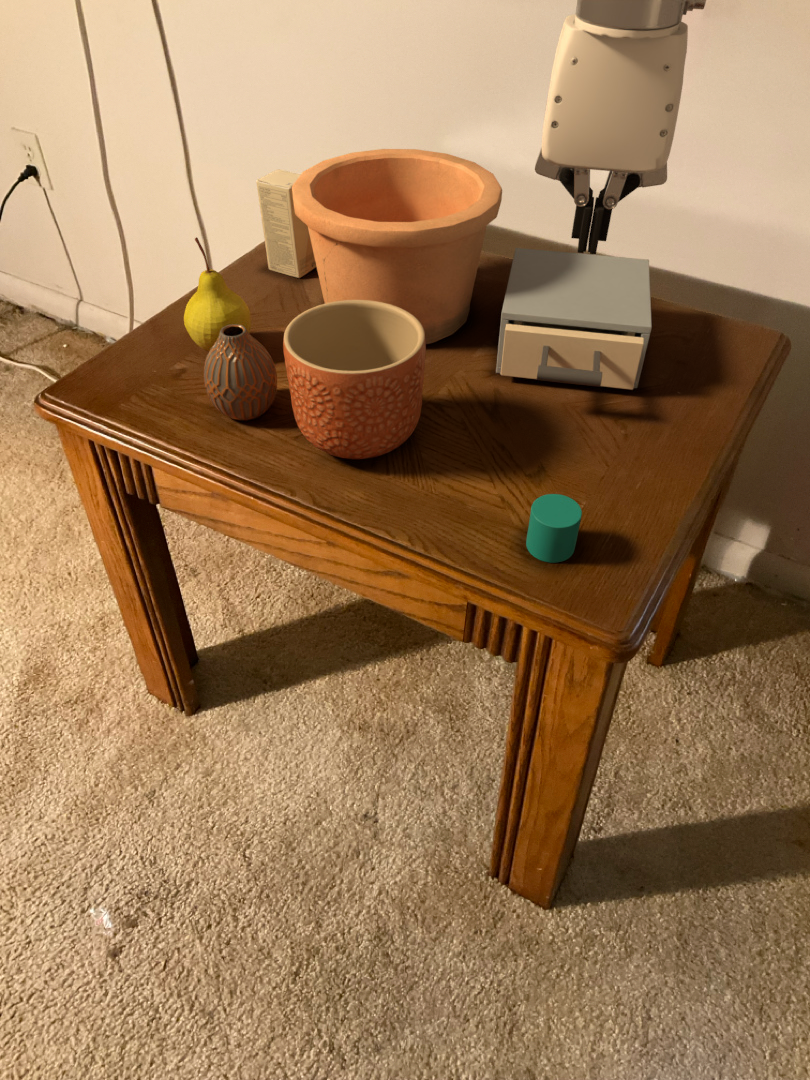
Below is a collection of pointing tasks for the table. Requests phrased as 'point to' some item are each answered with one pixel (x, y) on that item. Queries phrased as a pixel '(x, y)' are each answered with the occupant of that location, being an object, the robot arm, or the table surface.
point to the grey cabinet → (578, 293)
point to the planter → (355, 376)
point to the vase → (240, 374)
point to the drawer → (571, 354)
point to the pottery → (399, 230)
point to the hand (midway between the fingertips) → (587, 246)
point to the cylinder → (553, 528)
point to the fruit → (213, 308)
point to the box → (284, 226)
